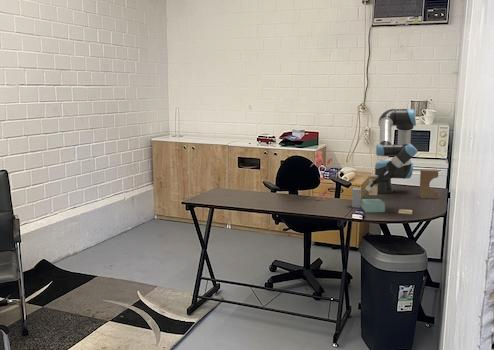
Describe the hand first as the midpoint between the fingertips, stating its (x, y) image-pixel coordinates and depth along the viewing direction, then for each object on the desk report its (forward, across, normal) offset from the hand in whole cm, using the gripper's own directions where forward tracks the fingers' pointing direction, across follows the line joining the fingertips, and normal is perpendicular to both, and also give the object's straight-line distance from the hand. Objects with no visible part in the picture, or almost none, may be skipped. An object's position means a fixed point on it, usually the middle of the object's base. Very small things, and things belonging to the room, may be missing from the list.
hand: (367, 188), depth 295 cm
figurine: (+35, +23, +16) cm, 45 cm away
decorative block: (-17, +44, -36) cm, 60 cm away
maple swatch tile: (-7, -1, -26) cm, 27 cm away
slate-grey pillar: (+15, +6, -4) cm, 17 cm away
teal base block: (+7, 0, -12) cm, 14 cm away
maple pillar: (0, 0, -5) cm, 5 cm away
